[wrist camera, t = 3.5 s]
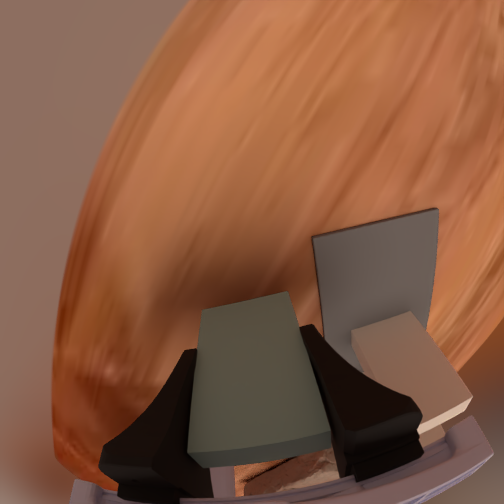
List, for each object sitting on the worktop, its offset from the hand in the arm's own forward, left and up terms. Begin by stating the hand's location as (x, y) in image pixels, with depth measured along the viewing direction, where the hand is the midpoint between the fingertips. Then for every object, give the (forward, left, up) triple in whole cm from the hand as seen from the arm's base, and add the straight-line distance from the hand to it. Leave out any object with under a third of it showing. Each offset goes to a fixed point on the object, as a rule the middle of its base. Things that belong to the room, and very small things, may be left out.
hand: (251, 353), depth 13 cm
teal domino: (0, 0, -3) cm, 3 cm away
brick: (0, -30, -5) cm, 30 cm away
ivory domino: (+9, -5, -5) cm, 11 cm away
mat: (+9, -11, -5) cm, 15 cm away
